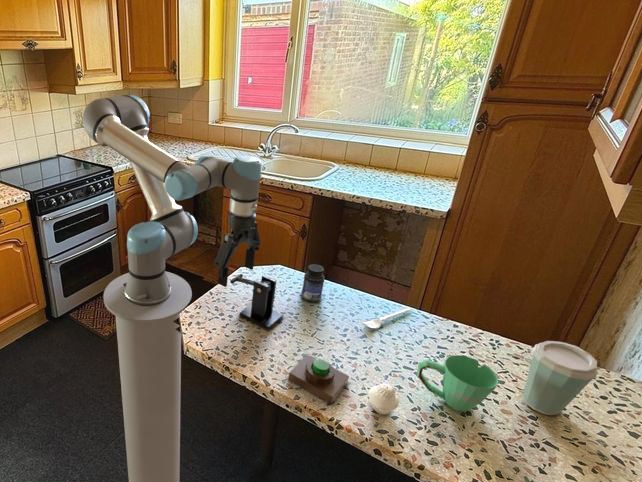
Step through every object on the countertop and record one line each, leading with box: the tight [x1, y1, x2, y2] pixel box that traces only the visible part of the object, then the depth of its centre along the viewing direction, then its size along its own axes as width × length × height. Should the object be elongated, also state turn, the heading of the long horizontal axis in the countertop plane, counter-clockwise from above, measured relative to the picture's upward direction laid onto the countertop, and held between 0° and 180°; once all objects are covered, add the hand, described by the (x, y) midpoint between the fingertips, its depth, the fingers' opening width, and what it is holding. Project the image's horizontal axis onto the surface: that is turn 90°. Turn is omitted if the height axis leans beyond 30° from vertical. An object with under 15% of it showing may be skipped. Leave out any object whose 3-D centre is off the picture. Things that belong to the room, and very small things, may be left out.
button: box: [312, 358, 329, 375], centre depth 96 cm, size 4×4×2 cm
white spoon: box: [361, 308, 411, 329], centre depth 119 cm, size 3×20×2 cm, turn 116°
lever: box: [229, 273, 271, 291], centre depth 118 cm, size 12×5×2 cm, turn 46°
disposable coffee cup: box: [522, 340, 599, 416], centre depth 88 cm, size 11×11×15 cm
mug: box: [416, 354, 500, 413], centre depth 90 cm, size 15×10×10 cm
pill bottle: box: [300, 263, 326, 303], centre depth 127 cm, size 6×6×11 cm
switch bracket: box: [239, 274, 284, 331], centre depth 117 cm, size 10×8×13 cm
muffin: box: [368, 382, 400, 415], centre depth 89 cm, size 6×6×7 cm
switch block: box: [288, 353, 350, 405], centre depth 97 cm, size 11×9×4 cm
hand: (236, 276), depth 122 cm, fingers open, 13 cm apart
